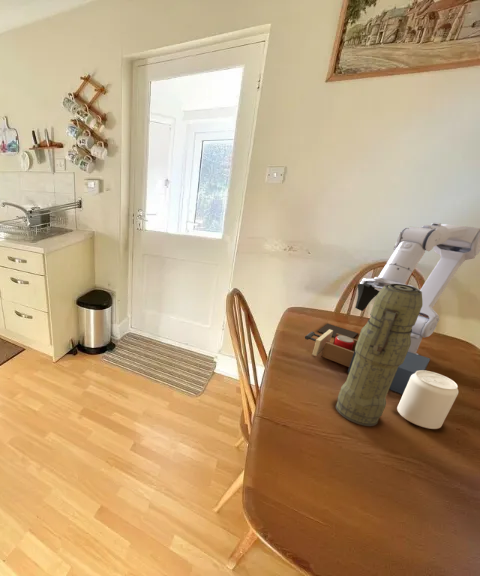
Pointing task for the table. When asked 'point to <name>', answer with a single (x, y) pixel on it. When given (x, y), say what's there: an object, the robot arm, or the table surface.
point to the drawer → (331, 348)
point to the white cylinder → (427, 399)
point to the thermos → (379, 353)
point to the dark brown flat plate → (337, 331)
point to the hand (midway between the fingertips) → (370, 312)
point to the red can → (344, 342)
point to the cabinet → (405, 370)
